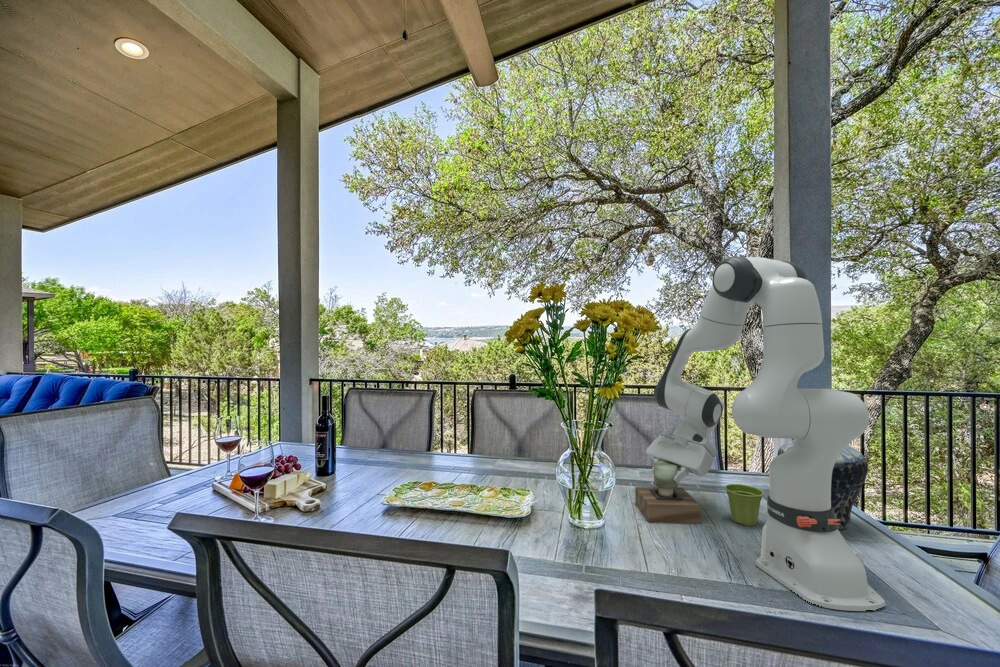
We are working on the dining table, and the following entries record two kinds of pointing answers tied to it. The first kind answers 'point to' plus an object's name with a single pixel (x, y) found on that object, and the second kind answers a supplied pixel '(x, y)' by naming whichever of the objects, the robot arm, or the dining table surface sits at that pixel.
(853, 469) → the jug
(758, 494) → the plant pot
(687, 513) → the hole block
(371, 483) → the dining table surface
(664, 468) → the peg
